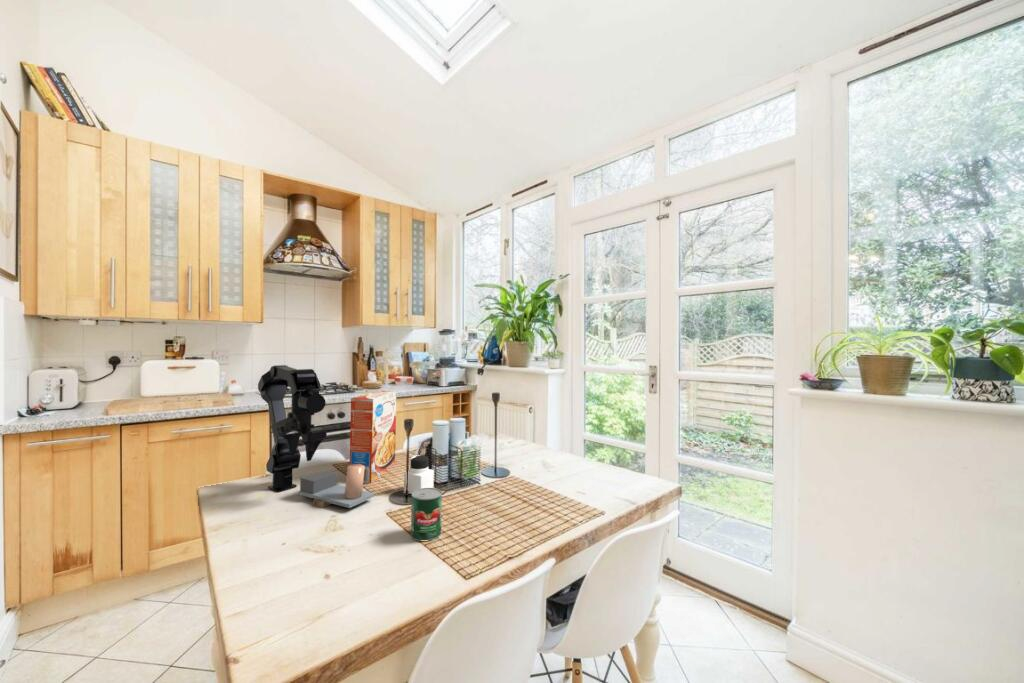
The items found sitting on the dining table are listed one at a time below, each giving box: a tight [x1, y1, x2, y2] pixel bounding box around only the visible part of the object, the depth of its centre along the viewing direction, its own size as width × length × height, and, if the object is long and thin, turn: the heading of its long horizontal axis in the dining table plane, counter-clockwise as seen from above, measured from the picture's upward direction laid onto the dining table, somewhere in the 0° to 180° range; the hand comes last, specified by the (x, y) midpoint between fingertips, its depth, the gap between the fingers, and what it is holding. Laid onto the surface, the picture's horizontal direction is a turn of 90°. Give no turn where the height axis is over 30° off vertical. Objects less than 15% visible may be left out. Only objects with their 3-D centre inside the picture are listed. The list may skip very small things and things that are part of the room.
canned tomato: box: [410, 487, 443, 542], centre depth 107 cm, size 8×8×11 cm
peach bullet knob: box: [344, 464, 365, 499], centre depth 125 cm, size 5×5×9 cm
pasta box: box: [349, 390, 397, 484], centre depth 154 cm, size 23×8×30 cm, turn 176°
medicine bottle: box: [403, 454, 435, 494], centre depth 136 cm, size 7×7×12 cm
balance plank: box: [298, 469, 375, 509], centre depth 128 cm, size 22×10×5 cm, turn 65°
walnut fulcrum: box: [312, 499, 333, 509], centre depth 128 cm, size 4×12×2 cm, turn 155°
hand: (300, 458), depth 128 cm, fingers open, 9 cm apart
